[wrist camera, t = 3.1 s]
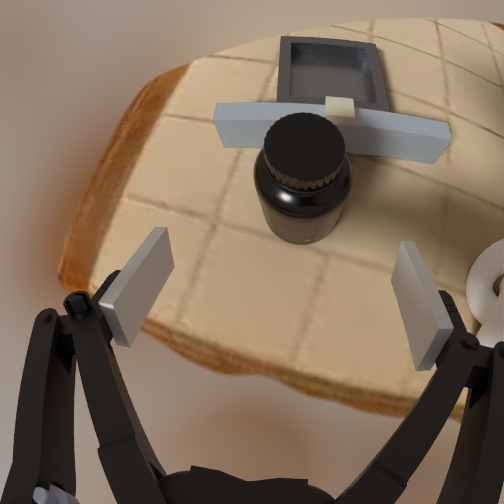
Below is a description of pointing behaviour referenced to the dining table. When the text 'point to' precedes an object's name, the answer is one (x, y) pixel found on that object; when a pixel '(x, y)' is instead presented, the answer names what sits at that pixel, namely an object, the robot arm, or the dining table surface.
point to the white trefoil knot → (487, 294)
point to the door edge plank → (348, 123)
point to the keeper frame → (330, 72)
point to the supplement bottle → (302, 177)
